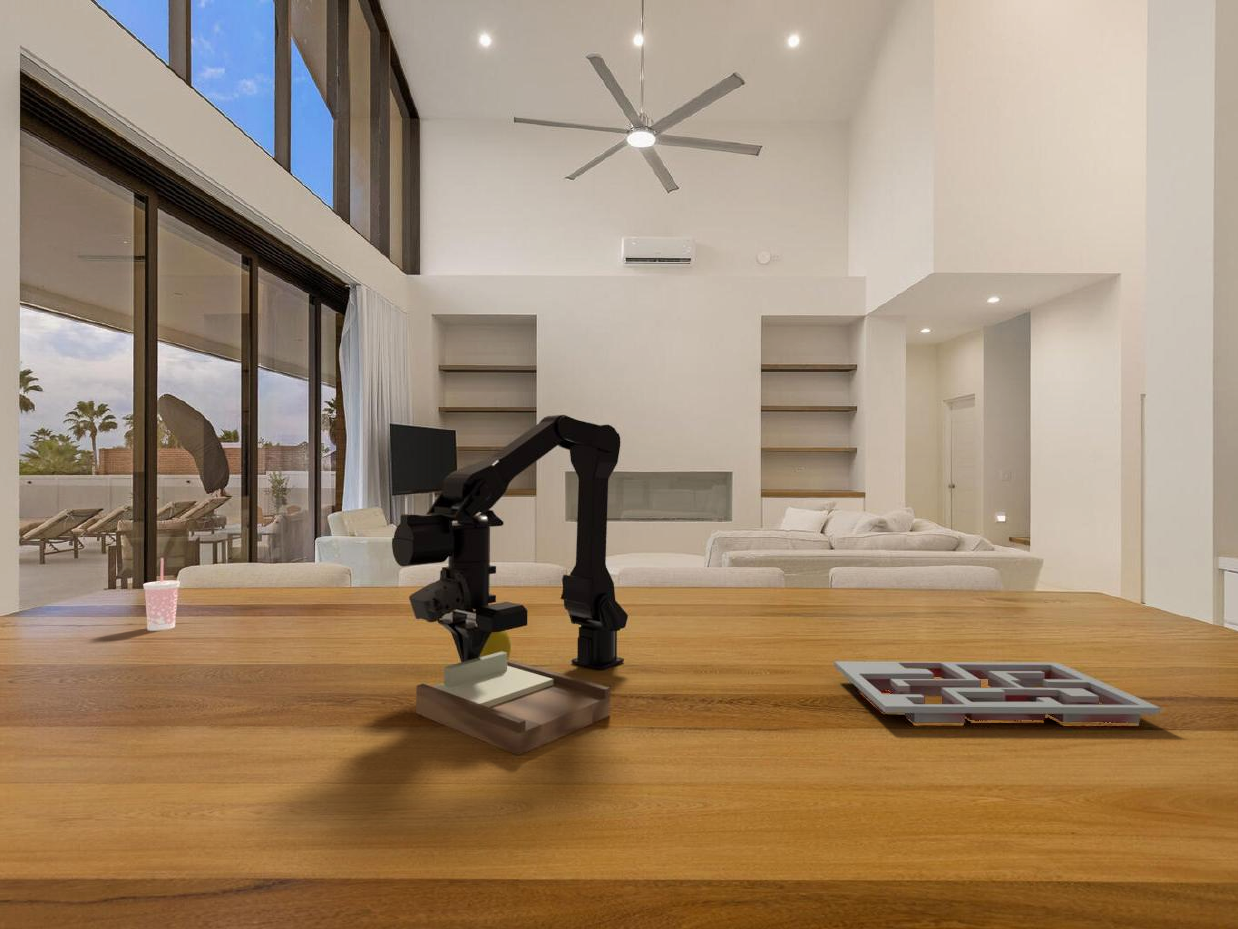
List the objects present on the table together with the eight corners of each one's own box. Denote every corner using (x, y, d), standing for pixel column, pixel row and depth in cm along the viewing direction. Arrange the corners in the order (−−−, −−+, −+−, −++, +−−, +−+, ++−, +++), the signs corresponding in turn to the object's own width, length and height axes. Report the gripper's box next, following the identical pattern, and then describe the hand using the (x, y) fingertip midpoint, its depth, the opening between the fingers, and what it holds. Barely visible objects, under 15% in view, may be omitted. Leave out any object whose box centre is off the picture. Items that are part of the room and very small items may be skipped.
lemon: (502, 679, 103) (503, 627, 103) (469, 677, 104) (469, 625, 104) (515, 669, 108) (515, 619, 108) (483, 666, 109) (483, 617, 109)
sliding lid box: (508, 683, 101) (508, 659, 101) (609, 715, 88) (610, 687, 88) (416, 713, 88) (416, 685, 88) (518, 755, 76) (519, 723, 76)
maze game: (1057, 682, 105) (1057, 662, 105) (1160, 732, 85) (1160, 707, 85) (834, 681, 104) (834, 661, 104) (885, 731, 85) (885, 706, 85)
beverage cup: (166, 631, 131) (166, 560, 131) (134, 631, 131) (135, 559, 131) (186, 624, 137) (187, 556, 137) (157, 624, 137) (157, 555, 137)
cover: (505, 670, 99) (505, 648, 99) (553, 684, 93) (553, 661, 93) (430, 692, 89) (430, 668, 89) (478, 710, 83) (478, 684, 83)
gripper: (381, 559, 94) (380, 670, 94) (463, 573, 82) (462, 700, 82) (447, 551, 103) (446, 653, 103) (530, 563, 91) (529, 679, 91)
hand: (468, 670), depth 94 cm, fingers closed
